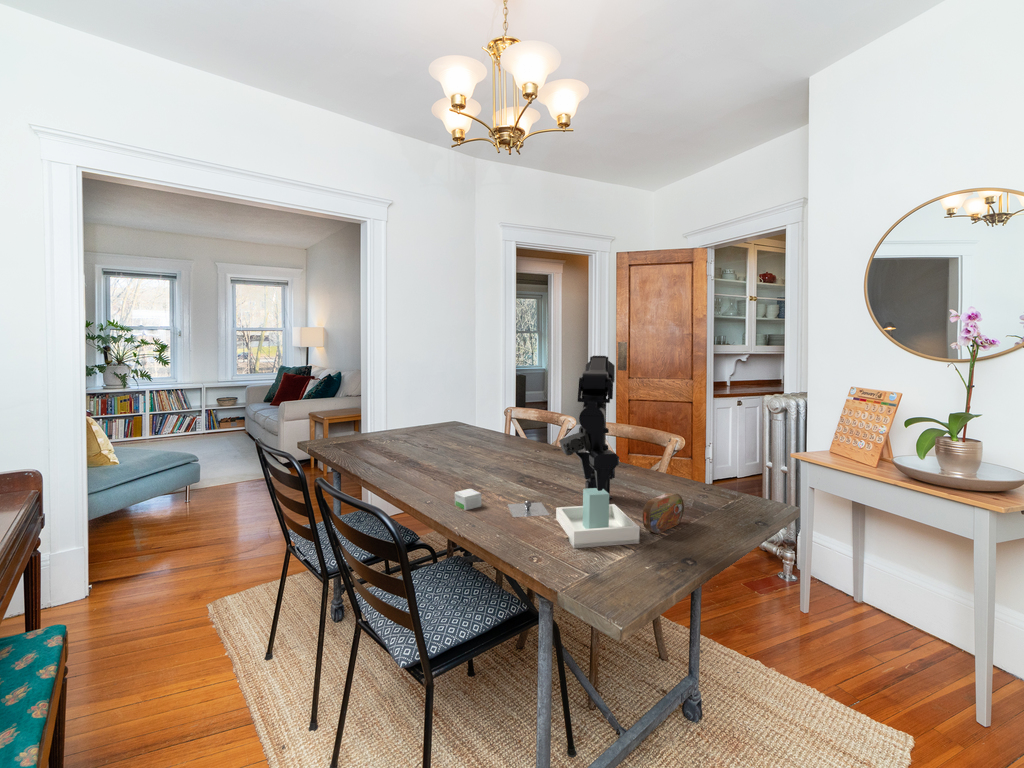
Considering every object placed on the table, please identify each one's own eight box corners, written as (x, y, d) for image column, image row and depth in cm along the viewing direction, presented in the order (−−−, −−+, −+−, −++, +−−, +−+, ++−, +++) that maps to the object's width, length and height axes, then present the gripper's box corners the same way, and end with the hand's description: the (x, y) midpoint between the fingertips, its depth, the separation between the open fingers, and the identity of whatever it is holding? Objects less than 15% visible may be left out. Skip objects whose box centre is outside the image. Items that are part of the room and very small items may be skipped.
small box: (454, 508, 139) (454, 491, 139) (471, 504, 143) (471, 487, 142) (464, 514, 135) (464, 497, 134) (482, 509, 138) (482, 492, 138)
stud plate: (541, 505, 141) (541, 493, 141) (549, 518, 132) (549, 505, 131) (507, 507, 140) (507, 495, 139) (513, 520, 130) (513, 507, 130)
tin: (650, 537, 119) (651, 503, 119) (639, 533, 122) (640, 500, 121) (684, 522, 129) (685, 491, 128) (674, 519, 131) (675, 488, 130)
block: (582, 525, 124) (583, 488, 123) (601, 523, 125) (602, 487, 124) (589, 533, 119) (589, 495, 118) (608, 531, 120) (609, 494, 119)
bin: (613, 518, 132) (614, 504, 131) (639, 543, 116) (639, 527, 115) (556, 522, 129) (556, 507, 128) (573, 548, 113) (574, 531, 113)
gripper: (553, 418, 129) (552, 475, 131) (574, 432, 111) (573, 499, 112) (593, 416, 131) (592, 473, 133) (620, 430, 113) (619, 496, 114)
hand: (593, 484), depth 123 cm, fingers open, 9 cm apart
